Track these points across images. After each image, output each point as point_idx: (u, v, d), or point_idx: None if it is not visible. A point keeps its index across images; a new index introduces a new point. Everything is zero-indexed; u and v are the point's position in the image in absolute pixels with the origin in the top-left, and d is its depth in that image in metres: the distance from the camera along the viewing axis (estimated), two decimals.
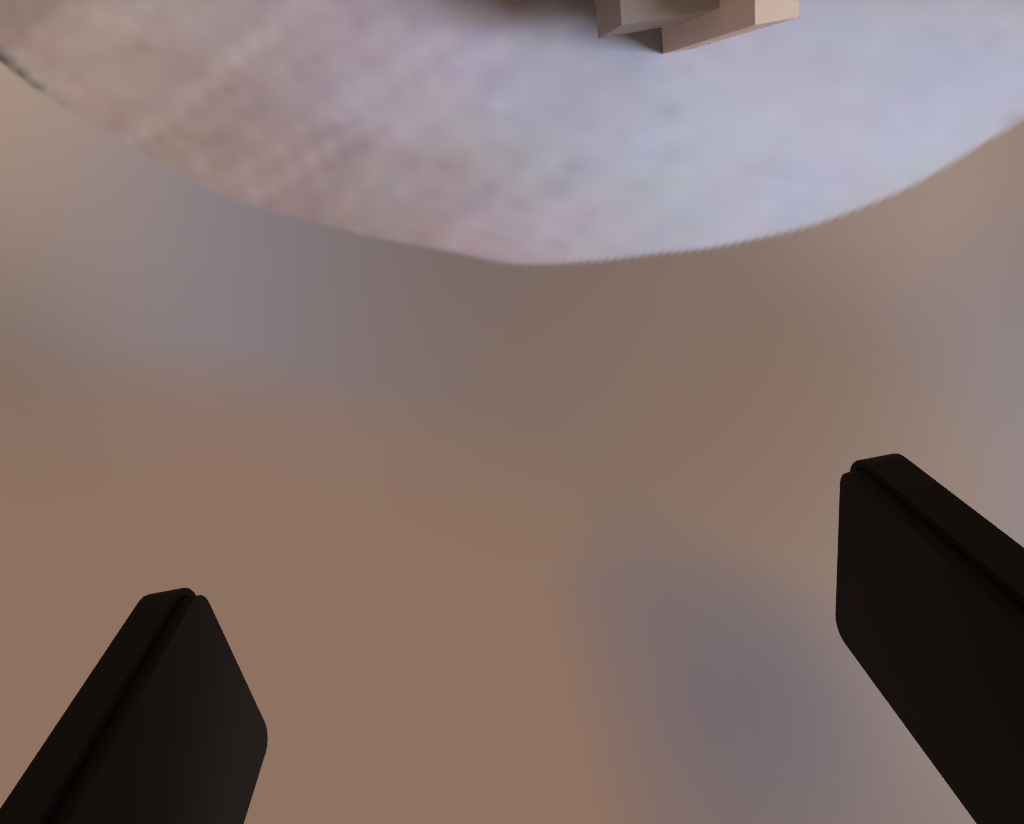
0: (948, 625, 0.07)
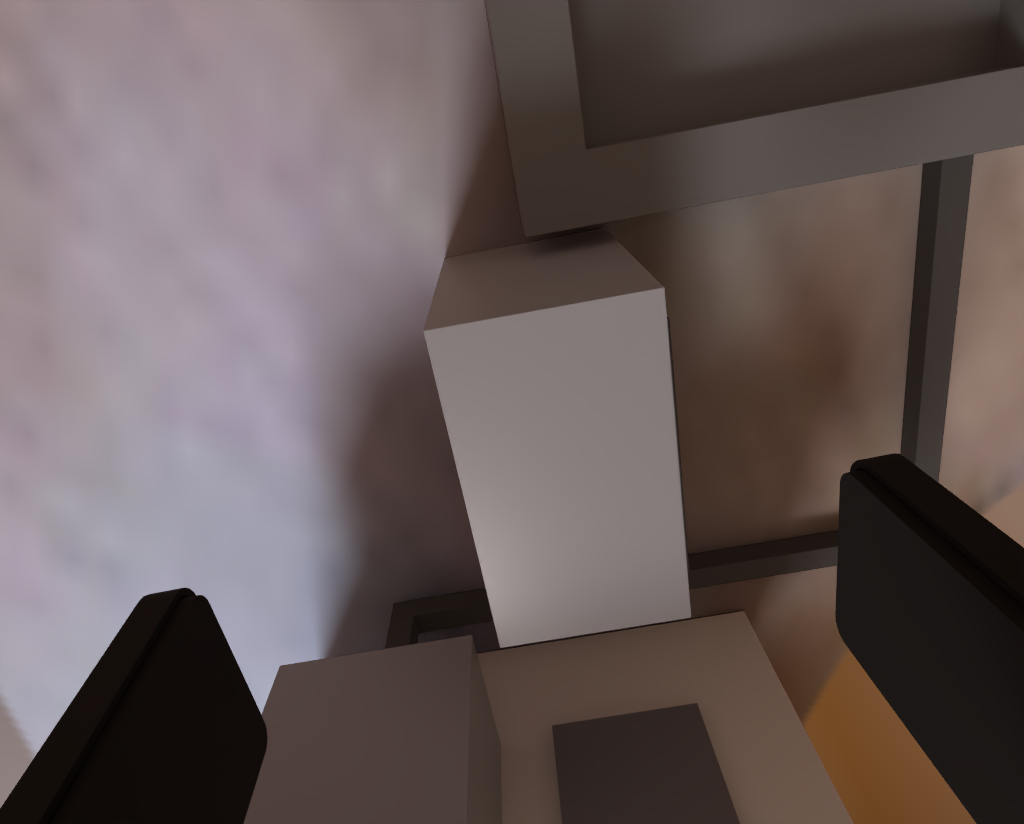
0: (948, 625, 0.07)
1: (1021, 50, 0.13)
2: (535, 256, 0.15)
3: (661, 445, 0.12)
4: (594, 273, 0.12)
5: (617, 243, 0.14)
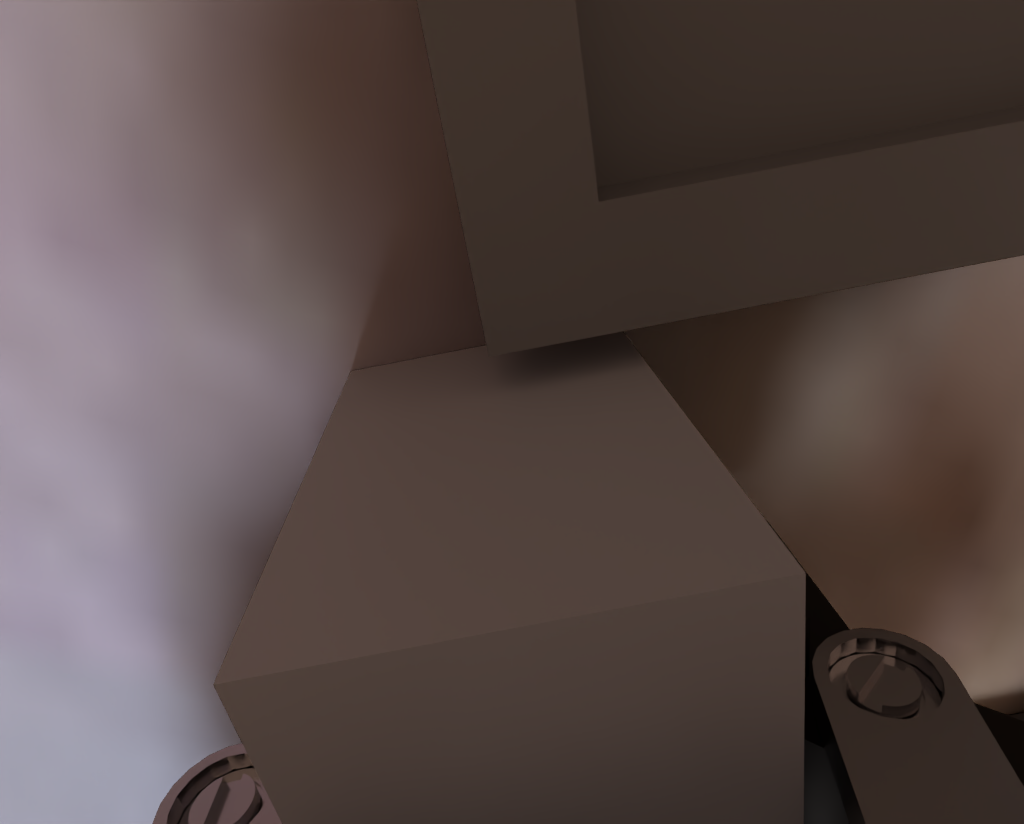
0: None
1: None
2: (499, 389, 0.08)
3: None
4: (616, 472, 0.06)
5: (645, 367, 0.08)
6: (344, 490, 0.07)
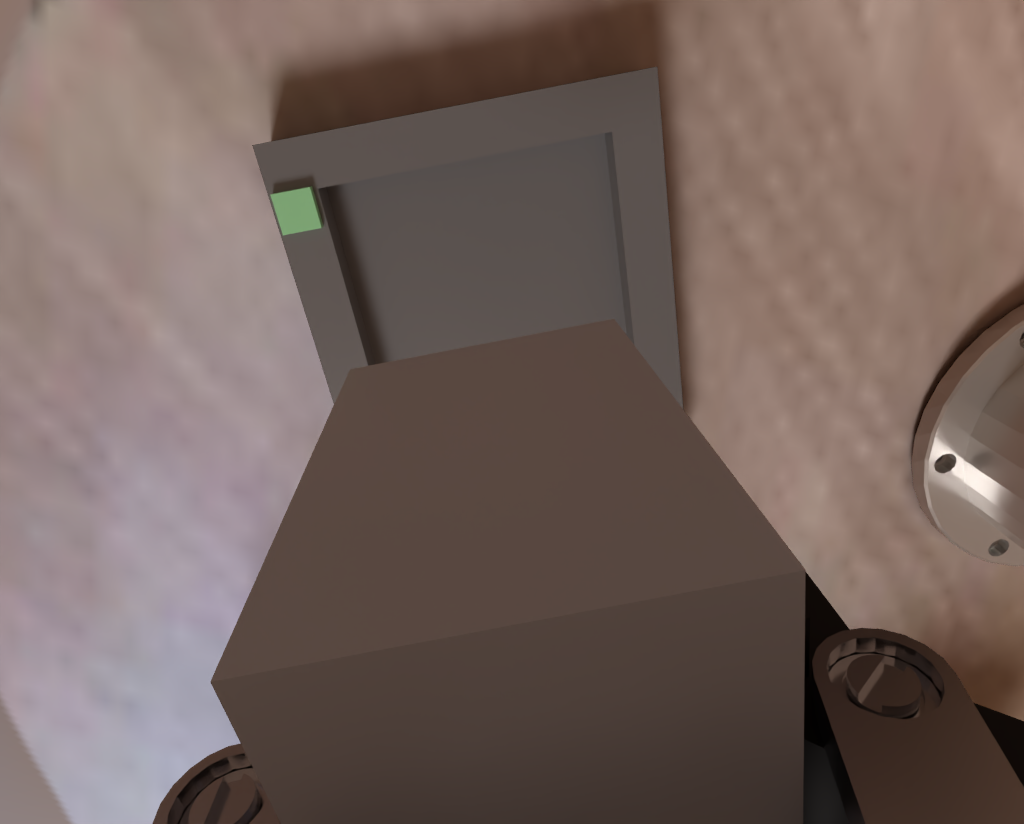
0: None
1: None
2: (498, 387, 0.08)
3: None
4: (614, 468, 0.06)
5: (644, 365, 0.08)
6: (342, 488, 0.07)
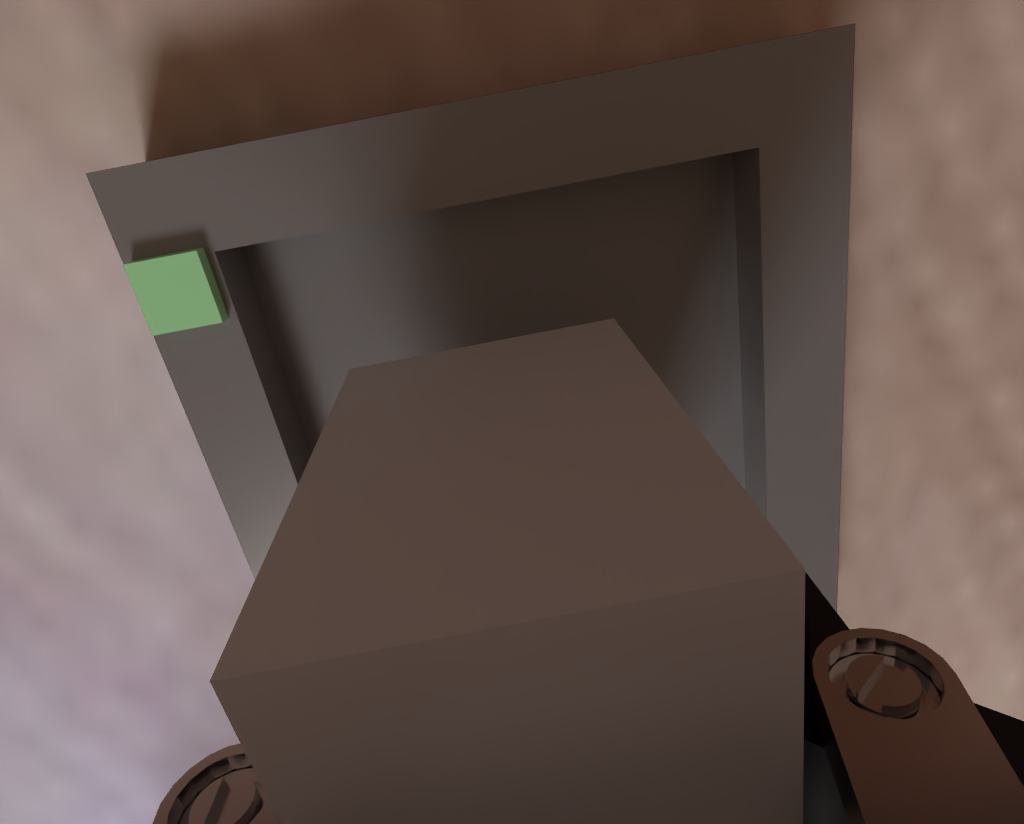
0: None
1: None
2: (498, 386, 0.08)
3: None
4: (615, 468, 0.06)
5: (644, 364, 0.08)
6: (342, 487, 0.07)
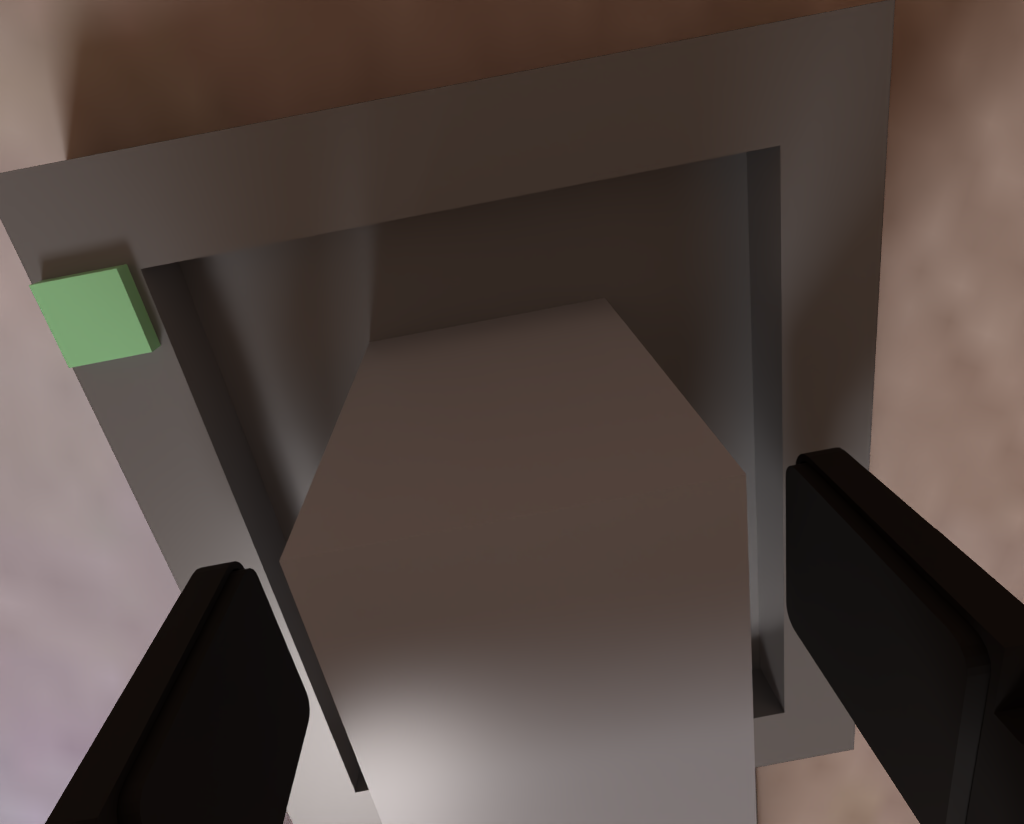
0: (875, 608, 0.08)
1: (775, 686, 0.14)
2: (502, 353, 0.09)
3: (726, 722, 0.07)
4: (600, 411, 0.07)
5: (629, 334, 0.09)
6: (372, 431, 0.08)
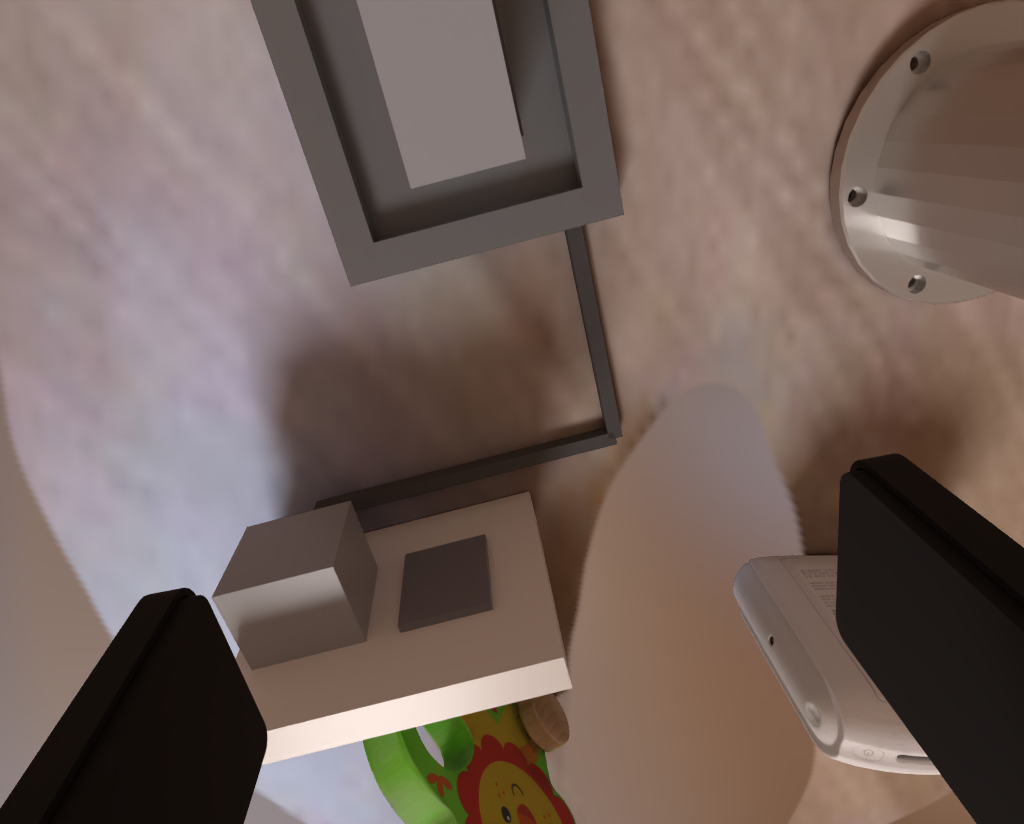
0: (948, 625, 0.07)
1: (579, 179, 0.28)
2: None
3: (487, 23, 0.21)
4: None
5: None
6: None
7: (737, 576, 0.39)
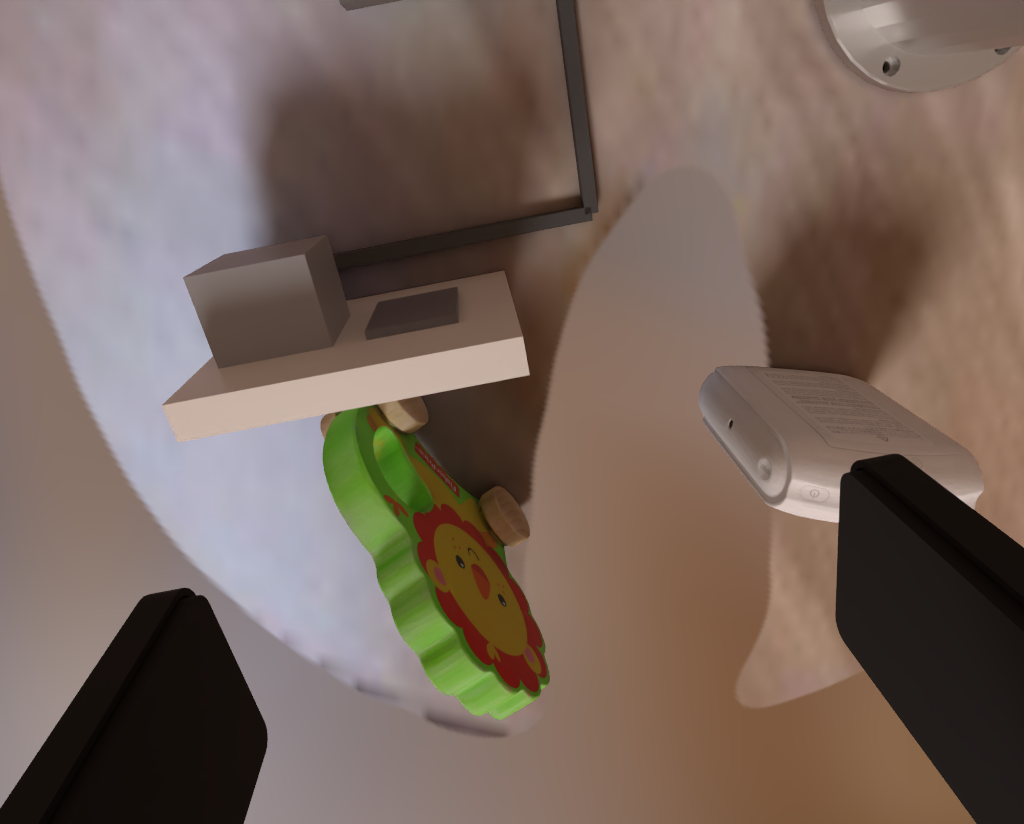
0: (948, 625, 0.07)
1: None
2: None
3: None
4: None
5: None
6: None
7: (703, 385, 0.39)
